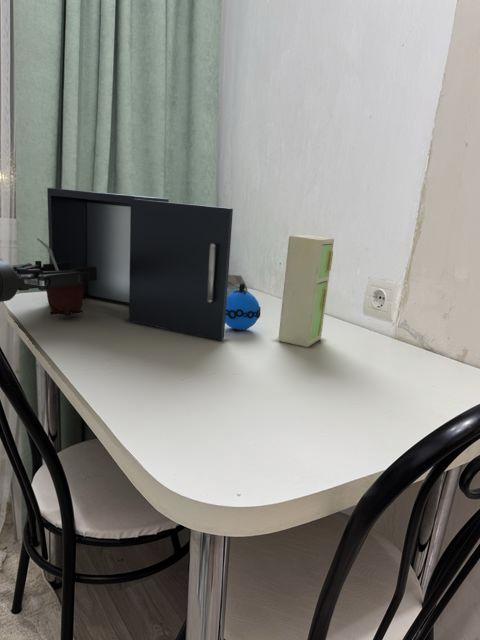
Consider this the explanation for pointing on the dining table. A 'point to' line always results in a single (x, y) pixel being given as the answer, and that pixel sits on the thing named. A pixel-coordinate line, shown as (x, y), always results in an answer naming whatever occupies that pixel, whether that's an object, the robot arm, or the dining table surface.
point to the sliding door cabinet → (147, 256)
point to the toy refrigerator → (305, 289)
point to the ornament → (241, 309)
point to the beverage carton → (235, 283)
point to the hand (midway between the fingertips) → (81, 270)
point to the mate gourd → (64, 295)
